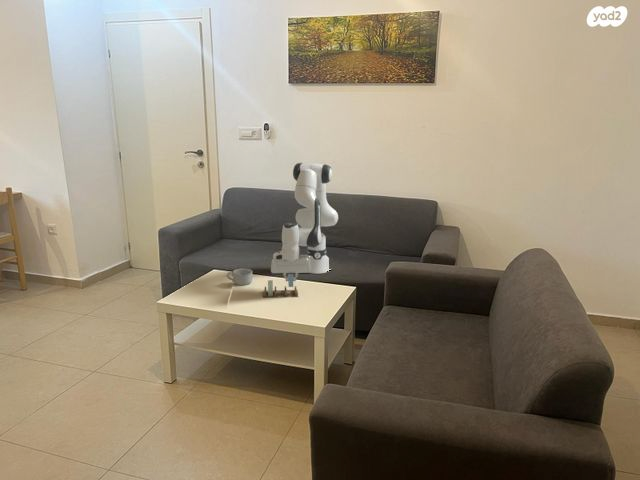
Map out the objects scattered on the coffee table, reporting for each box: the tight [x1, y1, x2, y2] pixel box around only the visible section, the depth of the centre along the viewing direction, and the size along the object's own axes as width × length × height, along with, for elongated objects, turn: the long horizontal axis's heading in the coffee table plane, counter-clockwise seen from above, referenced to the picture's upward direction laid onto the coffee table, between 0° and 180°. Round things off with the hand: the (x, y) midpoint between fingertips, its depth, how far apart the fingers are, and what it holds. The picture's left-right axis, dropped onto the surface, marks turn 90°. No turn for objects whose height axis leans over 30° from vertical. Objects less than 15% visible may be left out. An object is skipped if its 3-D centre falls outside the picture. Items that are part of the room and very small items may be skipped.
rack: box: [262, 285, 300, 299], centre depth 241 cm, size 12×18×4 cm, turn 96°
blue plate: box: [287, 273, 294, 288], centre depth 240 cm, size 6×2×6 cm, turn 6°
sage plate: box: [267, 280, 274, 296], centre depth 240 cm, size 6×2×6 cm, turn 6°
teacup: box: [226, 268, 253, 286], centre depth 259 cm, size 14×11×8 cm
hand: (290, 280), depth 240 cm, fingers closed on blue plate, 2 cm apart
